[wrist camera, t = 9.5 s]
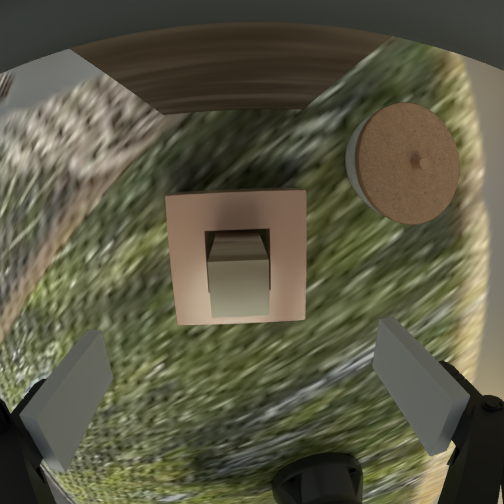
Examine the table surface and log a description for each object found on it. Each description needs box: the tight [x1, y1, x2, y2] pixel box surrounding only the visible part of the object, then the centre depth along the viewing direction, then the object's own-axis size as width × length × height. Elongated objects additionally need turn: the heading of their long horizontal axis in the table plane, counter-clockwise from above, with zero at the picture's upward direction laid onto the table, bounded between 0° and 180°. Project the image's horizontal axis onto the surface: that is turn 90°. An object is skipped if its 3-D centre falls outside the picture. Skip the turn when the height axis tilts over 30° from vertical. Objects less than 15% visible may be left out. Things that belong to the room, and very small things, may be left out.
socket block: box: [165, 187, 307, 325], centre depth 31 cm, size 12×12×5 cm
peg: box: [207, 229, 270, 318], centre depth 28 cm, size 4×4×12 cm
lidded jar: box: [345, 103, 459, 225], centre depth 27 cm, size 11×11×9 cm
